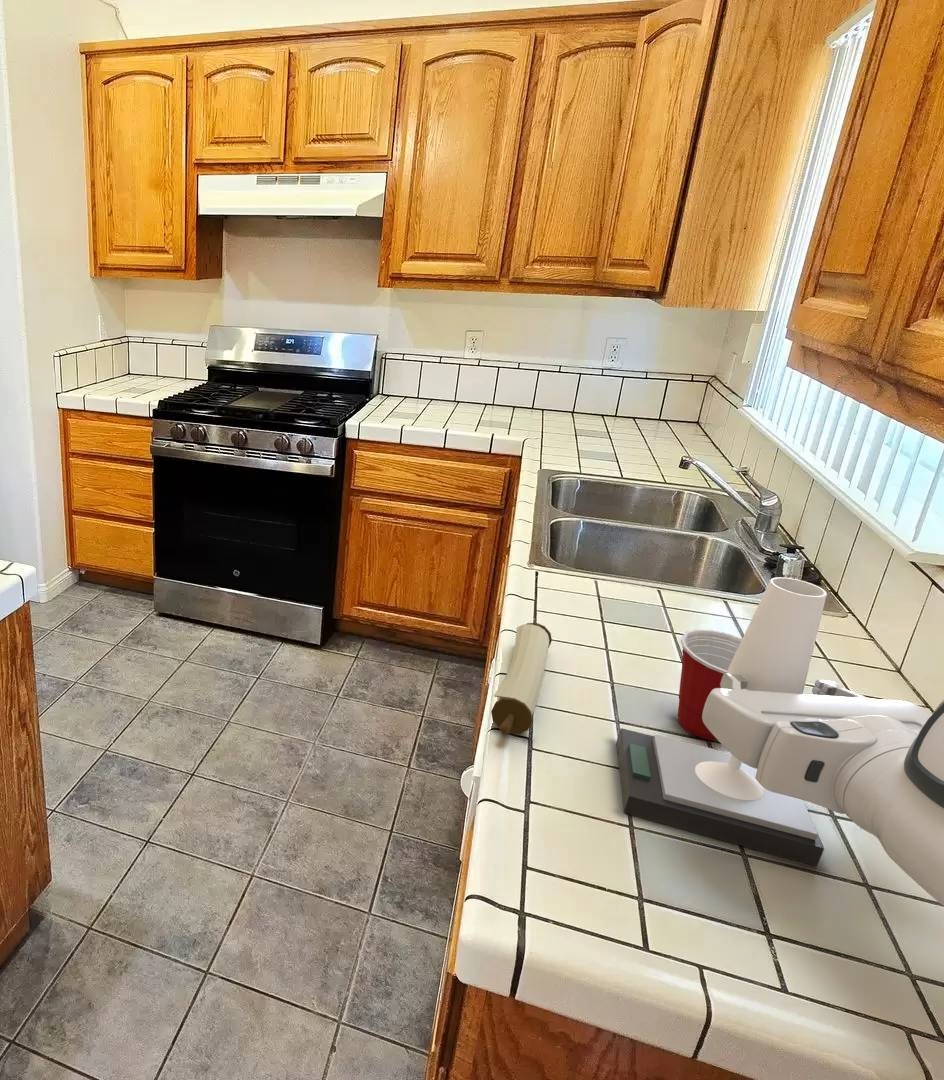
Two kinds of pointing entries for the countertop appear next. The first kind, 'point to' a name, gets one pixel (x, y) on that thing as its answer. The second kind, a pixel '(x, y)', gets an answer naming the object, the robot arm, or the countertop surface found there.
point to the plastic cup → (702, 674)
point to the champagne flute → (770, 665)
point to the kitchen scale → (709, 799)
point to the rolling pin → (522, 680)
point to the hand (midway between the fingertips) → (774, 682)
